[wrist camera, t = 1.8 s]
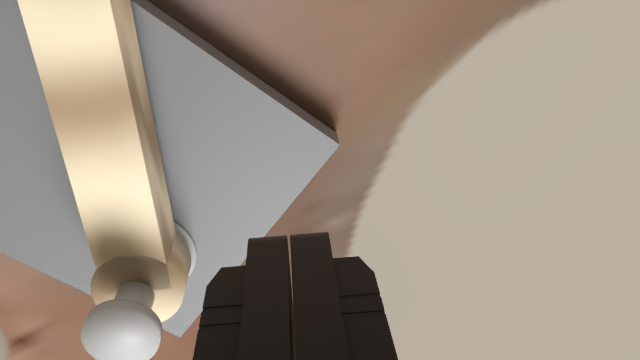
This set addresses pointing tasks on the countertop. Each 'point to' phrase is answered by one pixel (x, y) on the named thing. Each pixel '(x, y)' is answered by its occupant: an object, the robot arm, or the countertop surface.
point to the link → (109, 144)
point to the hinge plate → (178, 164)
